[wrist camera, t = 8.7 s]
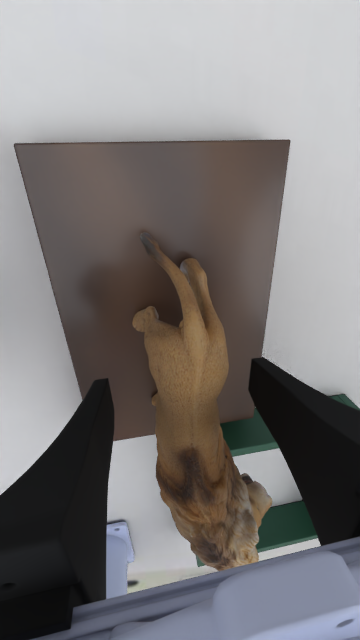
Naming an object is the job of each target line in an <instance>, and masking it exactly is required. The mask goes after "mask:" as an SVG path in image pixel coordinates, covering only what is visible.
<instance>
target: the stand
mask: <svg viewBox="0 0 360 640" xmlns="http://www.w3.org/2000/svg"><path fill="white" fill-rule="evenodd" d="M289 147H290V140H222V141H150V142H79V143H15V144H14V148H15V152H16V156H17V159H18V163H19V167H20V170H21V174H22V178H23V181H24V185H25V189H26V193H27V196H28V200H29V204H30V207H31V211H32V215H33V218H34V222H35V226H36V230H37V233H38V237H39V241H40V244H41V248H42V252H43V255H44V259H45V263H46V267H47V270H48V274H49V278H50V281H51V285H52V289H53V292H54V296H55V300H56V304H57V307H58V311H59V315H60V318H61V322H62V326H63V329H64V333H65V337H66V341H67V344H68V348H69V352H70V355H71V359H72V363H73V366H74V370H75V374H76V378H77V381H78V385H79V389H80V392H81V396H82V400H83V399H84V397H85V396H86V394H87V392H88V390H89V389H90V387H91V385H92V383H93V382H94V380H97V379H105V378H108V380H109V385H110V390H111V395H112V400H113V405H114V437H113V441H117V440H123V439H129V438H135V437H141V436H147V435H153V434H156V433H155V426H156V406H154V405H152V397H153V396H154V395H155V394H156V393H157V392H158V389H157V386H156V383H155V380H154V378H153V376H152V374H151V372H150V369H149V359H148V354H147V351H146V348H145V344H144V334H145V332H140V331H137V330H136V329H135V328H134V327H133V324H132V322H133V318H134V316H135V314H136V313H137V312H139V311H141V310H144V309H146V308H147V307H149V306H153V307H155V309H156V311H157V313H158V316H159V317H158V320H160V321H163V322H165V323H168V324H171V325H173V326H176V327H179V325H180V322H181V321H182V320H183V312H182V307H181V302H180V298H179V295H178V292H177V290H176V287H175V285H174V284H173V282H172V280H171V278H170V276H169V275H168V273H167V272H166V271H165V270H164V269H163V268H162V267H161V266H160V265H159V264H158V263H157V262H156V261H155V260H153V259H152V258H151V257H149V255H148V254H147V251H146V249H145V247H144V245H143V243H142V241H141V239H140V235H141V233H144V232H146V233H149V234H150V235H151V236H152V238H153V239H154V240H155V241H157V242H158V245H159V248H160V250H161V251H162V252H163V254H165V255H166V256H167V257H168V258H169V259H170V260H171V261H172V262H173V263H174V264H175V265H176V266H177V267H178V268H179V269H180V265H181V263H182V262H183V261H184V260H185V259H189V258H194V259H196V260H197V261H198V262H199V265H200V267H201V268H202V269H203V270H204V272H205V273H206V276H207V286H208V291H209V296H210V299H211V302H212V305H213V308H214V310H215V312H216V314H217V316H218V318H219V320H220V322H221V323H222V326H223V328H224V334H225V338H226V347H227V354H228V363H229V370H228V375H227V378H226V381H225V383H224V386H223V388H222V390H221V392H220V394H219V396H218V397H217V399H216V400H217V405H218V409H219V419H220V423H225V422H231V421H237V420H243V419H249V418H253V416H254V408H255V405H254V403H253V400H252V398H251V395H250V393H249V390H248V386H249V377H250V368H251V359H253V358H261V356H262V348H263V341H264V334H265V326H266V319H267V311H268V304H269V296H270V289H271V281H272V274H273V267H274V259H275V252H276V244H277V237H278V229H279V222H280V214H281V207H282V199H283V192H284V185H285V177H286V170H287V162H288V155H289ZM189 285H190V283H189ZM191 289H192V288H191Z"/></svg>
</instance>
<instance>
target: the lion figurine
mask: <svg viewBox="0 0 360 640" xmlns="http://www.w3.org/2000/svg"><path fill="white" fill-rule="evenodd" d="M140 239H141V241H142V243H143V245H144V247H145V249H146V251H147V254H148V255H149V257H151V258H152V259H153V260H155V261H156V262H157V263H158V264H159V265H160V266H161V267H162V268H163V269H164V270H165V271H166V272H167V273H168V275H169V276H170V278H171V280H172V282H173V284H174V285H175V287H176V290H177V292H178V295H179V298H180V302H181V307H182V312H183V320H182V321H181V322H180V325H179V327H176V326H173V325H171V324H168V323H165V322H163V321H160V320H158V317H159V316H158V313H157V311H156V309H155V307H153V306H149V307H147V308H146V309H144V310H141V311H139V312H137V313H136V314H135V316H134V318H133V322H132V324H133V327H134V328H135V329H136V330H137V331H140V332H145V334H144V344H145V348H146V351H147V354H148V359H149V369H150V372H151V374H152V376H153V378H154V380H155V383H156V386H157V389H158V392H157V393H156V394H155V395H154V396H153V397H152V405H154V406H156V426H155V433H156V437H157V451H158V457H157V463H156V478H157V481H158V484H159V487H160V489H161V491H160V495H161V498H162V500H163V501H164V502H165V504H166V505H167V506H168V507H170V510H171V513H172V517H173V520H174V521H175V522H176V527H177V529H178V531H179V532H180V534H181V535H182V536H183V537H184V538H185V539H187V540H188V541H189V542H190V543H191V550H192V551H193V553H194V554H196V555H197V556H198V557H199V559H200V560H201V561H202V562H203V563H204V564H205V565H207V566H210V567H213V568H216V569H217V570H218V571H222V570H226V569H230V568H235V567H239V566H243V565H247V564H251V563H255V562H258V560H259V556H258V552H257V549H256V546H255V545H256V544H257V543H258V542H259V536H258V528H259V526H260V525H261V519H262V518H263V516H264V515H265V513H266V512H267V511H268V509H269V508H270V506H271V505H272V498H271V497H270V496H269V495H268V494H267V492H266V490H265V488H264V487H263V486H262V485H261V484H260V483H258V482H256V481H254V482H253V481H252V479H251V478H250V476H249V475H248V474H246V473H244V474H242V475H240V473H239V470H238V468H237V466H236V465H235V464H234V461H233V458H232V454H231V452H230V449H229V447H228V445H227V444H226V441H225V440H224V438H223V434H222V429H221V427H220V419H219V409H218V405H217V400H216V399H217V397H218V396H219V394H220V392H221V390H222V388H223V386H224V383H225V381H226V378H227V375H228V370H229V363H228V354H227V347H226V338H225V334H224V328H223V326H222V323H221V322H220V320H219V318H218V316H217V314H216V312H215V310H214V308H213V305H212V302H211V299H210V296H209V291H208V286H207V276H206V273H205V272H204V270H203V269H202V268H201V267H200V265H199V262H198V261H197V260H196V259H194V258H189V259H185V260H184V261H183V262H182V263H181V265H180V269H179V268H178V267H177V266H176V265H175V264H174V263H173V262H172V261H171V260H170V259H169V258H168V257H167V256H166V255H165V254H163V252H162V251H161V250H160V248H159V245H158V242H157V241H155V240H154V239H153V238H152V236H151V235H150V234H149V233H146V232H144V233H141V235H140ZM189 283H190V285H189ZM191 288H192V289H191Z"/></svg>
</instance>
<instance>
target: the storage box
mask: <svg viewBox="0 0 360 640" xmlns="http://www.w3.org/2000/svg"><path fill="white" fill-rule="evenodd" d="M330 398H333V399H335V400H337V401H339V402H341V403H343V404H345V405H348V406H350V407H353V408H355V409H358V410H360V409H359V408H358V407H357V406H356V405H355V404H354V403H353V402H352V401H351V400H350V399H349V398H348V397H347V396H346V395H345V394H342V395H337V396H330ZM220 427H221V429H222V434H223V438H224V440H225V441H226V444H227V445H228V447H229V449H230V452H231V454H232V457H234V456H239V455H244V454H250V453H255V452H260V451H266V450H271V449H276V448H279V446H278V445H277V443H276V441H275V439H274V438H273V436H272V434H271V433H270V431H269V429H268V428H267V426H266V424H265V423H264V421H263V419H262V417H261V416H260V414H259V412H258V411H257V409H254V416H253V418H249V419H243V420H237V421H231V422H225V423H220ZM258 536H259V542H258V543H257V544H256V545H255V546H256V549H257V552H263V551H267V550H271V549H275V548H279V547H283V546H287V545H292V544H296V543H300V542H304V541H308V540H312V539H316V538H318V536H317V534H316V531H315V528H314V526H313V523H312V520H311V518H310V516H309V513H308V511H307V508H306V506H305V503H304V501H299V502H295V503H290V504H286V505H281V506H277V507H272V508H269V509H268V511H267V512H266V513H265V515H264V516H263V518H262V519H261V525H260V526H259V528H258ZM196 560H197V565H198V567H200V566H204V565H205V564H204V563H203V562H202V561H201V560H200V559H199V557H198V556H197V555H196Z"/></svg>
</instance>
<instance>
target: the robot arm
mask: <svg viewBox="0 0 360 640" xmlns="http://www.w3.org/2000/svg"><path fill="white" fill-rule="evenodd" d="M248 390H249V393H250V395H251V398H252V400H253V403H254V405H255V407H256V409H257V411H258V412H259V414H260V416H261V417H262V419H263V421H264V423H265V424H266V426H267V428H268V429H269V431H270V433H271V434H272V436H273V438H274V439H275V441H276V443H277V445H278V446H279V448H280V450H281V452H282V454H283V456H284V458H285V460H286V462H287V464H288V467H289V469H290V471H291V473H292V475H293V478H294V480H295V482H296V484H297V487H298V489H299V491H300V494H301V496H302V498H303V501H304V503H305V506H306V508H307V511H308V513H309V516H310V518H311V520H312V523H313V526H314V528H315V531H316V534H317V536H318V539H319V541H320V544H321V546H320V547H315V548H311V549H307V550H303V551H299V552H295V553H291V554H287V555H283V556H279V557H275V558H271V559H267V560H263V561H259V562H255V563H251V564H247V565H243V566H239V567H235V568H230V569H226V570H222V571H218V572H214V573H210V574H206V575H202V576H198V577H194V578H190V579H186V580H182V581H178V582H174V583H170V584H166V585H162V586H158V587H154V588H150V589H146V590H142V591H138V592H133V593H129V594H127V563H131V562H133V561H134V552H133V548H132V543H131V539H130V535H129V531H128V526H127V523H126V522H118V523H113V524H109V525H107V495H108V478H109V470H110V462H111V454H112V445H113V437H114V405H113V400H112V395H111V390H110V385H109V380H108V378H105V379H97V380H94V382H93V383H92V385H91V387H90V389H89V390H88V392H87V394H86V396H85V397H84V399H83V401H82V402H81V404H80V405H79V407H78V409H77V410H76V412H75V413H74V415H73V416H72V418H71V419H70V421H69V422H68V423H67V425H66V426H65V427H64V429H63V430H62V432H61V433H60V434H59V435H58V437H57V438H56V439H55V440H54V442H53V443H52V444H51V445H50V446H49V448H48V449H47V450H46V451H45V452H44V453H43V454H42V455H41V456H40V458H39V459H38V460H37V461H36V462H35V463H34V464H33V465H32V466H31V467H30V468H29V469H28V470H27V471H26V472H25V473H24V474H23V475H22V476H21V477H20V478H19V479H18V480H17V481H16V482H15V483H13V484H12V485H11V486H10V487H9V488H8V489H7V490H6V491H5V492H3V493H2V494H1V495H0V640H360V410H358V409H355V408H353V407H350V406H348V405H345V404H343V403H341V402H339V401H337V400H335V399H333V398H330V397H328V396H326V395H324V394H322V393H320V392H319V391H317V390H315V389H313V388H311V387H310V386H308V385H306V384H304V383H303V382H301V381H299V380H298V379H296V378H295V377H293V376H291V375H290V374H288V373H287V372H285V371H284V370H282V369H281V368H279V367H278V366H276V365H274V364H273V363H271V362H270V361H268V360H267V359H265V358H263V357H261V358H253V359H251V368H250V377H249V386H248Z"/></svg>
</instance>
